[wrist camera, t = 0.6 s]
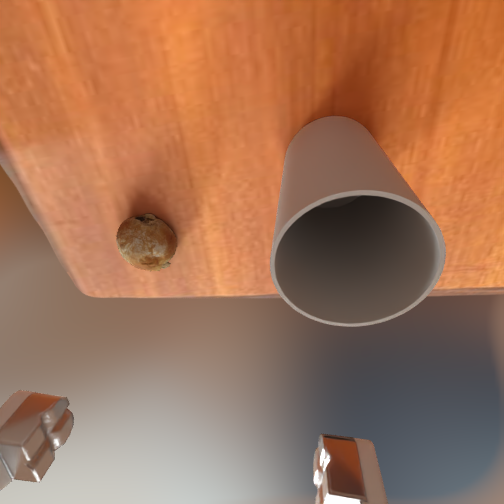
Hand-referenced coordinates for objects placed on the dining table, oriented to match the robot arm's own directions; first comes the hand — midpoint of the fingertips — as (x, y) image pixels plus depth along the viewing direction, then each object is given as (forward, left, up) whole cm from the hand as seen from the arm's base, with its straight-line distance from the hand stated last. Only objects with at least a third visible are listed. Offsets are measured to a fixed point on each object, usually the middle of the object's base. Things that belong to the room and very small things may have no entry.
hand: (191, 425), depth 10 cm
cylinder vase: (+4, +7, -40) cm, 41 cm away
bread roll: (+17, -23, -40) cm, 49 cm away
